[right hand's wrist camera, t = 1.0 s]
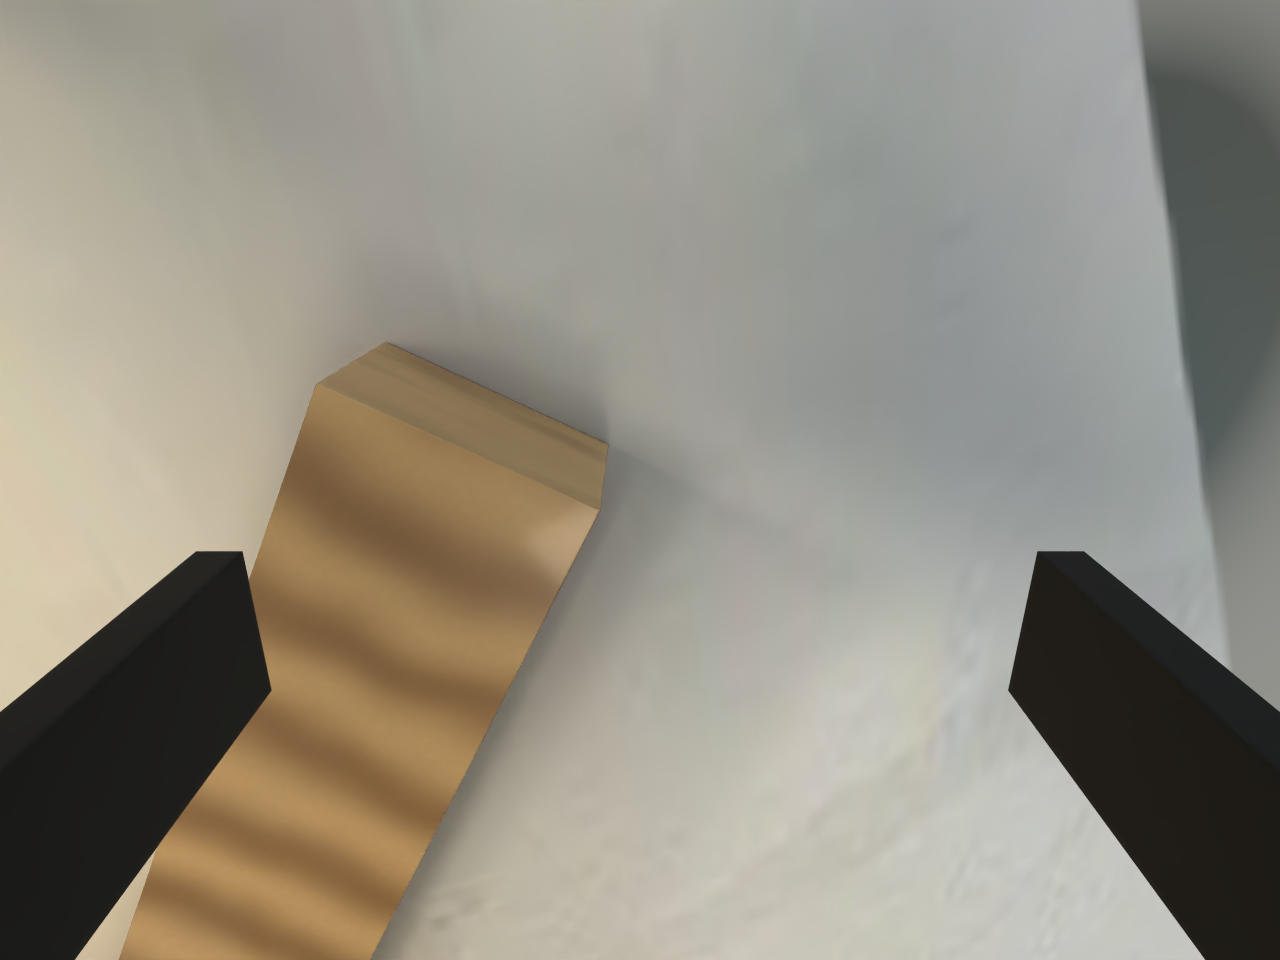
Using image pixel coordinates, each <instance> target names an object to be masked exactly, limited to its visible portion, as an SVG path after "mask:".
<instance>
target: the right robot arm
mask: <svg viewBox="0 0 1280 960" xmlns="http://www.w3.org/2000/svg"><path fill="white" fill-rule="evenodd" d="M271 691H272V689H271V684H270V679H269V675H268V670H267V665H266V660H265V656H264V651H263V646H262V642H261V637H260V632H259V627H258V623H257V618H256V613H255V608H254V604H253V599H252V594H251V589H250V585H249V580H248V575H247V570H246V566H245V561H244V556H243V551H196V552H195V553H194V554H192V555H191V556H190V557H189V558H188V559H186V560H185V561H184V562H183V563H181V564H180V565H179V566H178V567H177V568H175V569H174V570H173V571H172V572H170V573H169V574H168V575H167V576H166V577H164V578H163V579H162V580H161V581H159V582H158V583H157V584H156V585H155V586H153V587H152V588H151V589H150V590H148V591H147V592H146V593H145V594H144V595H142V596H141V597H140V598H139V599H138V600H136V601H135V602H134V603H133V604H131V605H130V606H129V607H128V608H127V609H125V610H124V611H123V612H122V613H120V614H119V615H118V616H117V617H116V618H114V619H113V620H112V621H111V622H109V623H108V624H107V625H106V626H105V627H103V628H102V629H101V630H100V631H98V632H97V633H96V634H95V635H94V636H92V637H91V638H90V639H89V640H88V641H86V642H85V643H84V644H83V645H81V646H80V647H79V648H78V649H77V650H75V651H74V652H73V653H72V654H70V655H69V656H68V657H67V658H66V659H64V660H63V661H62V662H61V663H59V664H58V665H57V666H56V667H55V668H53V669H52V670H51V671H50V672H49V673H47V674H46V675H45V676H44V677H42V678H41V679H40V680H39V681H38V682H36V683H35V684H34V685H33V686H31V687H30V688H29V689H28V690H27V691H25V692H24V693H23V694H22V695H20V696H19V697H18V698H17V699H16V700H14V701H13V702H12V703H11V704H9V705H8V706H7V707H6V708H5V709H3V710H2V711H1V712H0V960H75V959H76V957H77V956H78V955H79V953H80V952H81V950H82V949H83V948H84V946H85V945H86V944H87V942H88V941H89V940H90V938H91V937H92V935H93V934H94V933H95V931H96V930H97V929H98V927H99V926H100V925H101V923H102V922H103V920H104V919H105V918H106V916H107V915H108V914H109V912H110V911H111V909H112V908H113V907H114V905H115V904H116V903H117V901H118V900H119V899H120V897H121V896H122V894H123V893H124V892H125V890H126V889H127V888H128V886H129V885H130V884H131V882H132V881H133V879H134V878H135V877H136V875H137V874H138V873H139V871H140V870H141V868H142V867H143V866H144V864H145V863H146V862H147V860H148V859H149V858H150V856H151V855H152V853H153V852H154V851H155V849H156V848H157V847H158V845H159V844H160V843H161V841H162V840H163V838H164V837H165V836H166V834H167V833H168V832H169V830H170V829H171V827H172V826H173V825H174V823H175V822H176V821H177V819H178V818H179V817H180V815H181V814H182V812H183V811H184V810H185V808H186V807H187V806H188V804H189V803H190V802H191V800H192V799H193V797H194V796H195V795H196V793H197V792H198V791H199V789H200V788H201V787H202V785H203V784H204V782H205V781H206V780H207V778H208V777H209V776H210V774H211V773H212V771H213V770H214V769H215V767H216V766H217V765H218V763H219V762H220V761H221V759H222V758H223V756H224V755H225V754H226V752H227V751H228V750H229V748H230V747H231V746H232V744H233V743H234V741H235V740H236V739H237V737H238V736H239V735H240V733H241V732H242V730H243V729H244V728H245V726H246V725H247V724H248V722H249V721H250V720H251V718H252V717H253V715H254V714H255V713H256V711H257V710H258V709H259V707H260V706H261V705H262V703H263V702H264V700H265V699H266V698H267V696H268V695H269V694H270V692H271ZM1008 691H1009V692H1010V694H1011V695H1012V696H1013V698H1014V699H1015V700H1016V702H1017V703H1018V705H1019V706H1020V707H1021V709H1022V710H1023V711H1024V713H1025V714H1026V715H1027V717H1028V718H1029V720H1030V721H1031V722H1032V724H1033V725H1034V726H1035V728H1036V729H1037V730H1038V732H1039V733H1040V735H1041V736H1042V737H1043V739H1044V740H1045V741H1046V743H1047V744H1048V746H1049V747H1050V748H1051V750H1052V751H1053V752H1054V754H1055V755H1056V756H1057V758H1058V759H1059V761H1060V762H1061V763H1062V765H1063V766H1064V767H1065V769H1066V770H1067V771H1068V773H1069V774H1070V776H1071V777H1072V778H1073V780H1074V781H1075V782H1076V784H1077V785H1078V787H1079V788H1080V789H1081V791H1082V792H1083V793H1084V795H1085V796H1086V797H1087V799H1088V800H1089V802H1090V803H1091V804H1092V806H1093V807H1094V808H1095V810H1096V811H1097V812H1098V814H1099V815H1100V817H1101V818H1102V819H1103V821H1104V822H1105V823H1106V825H1107V826H1108V827H1109V829H1110V830H1111V832H1112V833H1113V834H1114V836H1115V837H1116V838H1117V840H1118V841H1119V843H1120V844H1121V845H1122V847H1123V848H1124V849H1125V851H1126V852H1127V853H1128V855H1129V856H1130V858H1131V859H1132V860H1133V862H1134V863H1135V864H1136V866H1137V867H1138V868H1139V870H1140V871H1141V873H1142V874H1143V875H1144V877H1145V878H1146V879H1147V881H1148V882H1149V884H1150V885H1151V886H1152V888H1153V889H1154V890H1155V892H1156V893H1157V894H1158V896H1159V897H1160V899H1161V900H1162V901H1163V903H1164V904H1165V905H1166V907H1167V908H1168V909H1169V911H1170V912H1171V914H1172V915H1173V916H1174V918H1175V919H1176V920H1177V922H1178V923H1179V925H1180V926H1181V927H1182V929H1183V930H1184V931H1185V933H1186V934H1187V935H1188V937H1189V938H1190V940H1191V941H1192V942H1193V944H1194V945H1195V946H1196V948H1197V949H1198V950H1199V952H1200V953H1201V955H1202V956H1203V957H1204V959H1205V960H1280V712H1279V711H1278V710H1277V709H1275V708H1274V707H1273V706H1272V705H1270V704H1269V703H1268V702H1267V701H1266V700H1264V699H1263V698H1262V697H1261V696H1259V695H1258V694H1257V693H1256V692H1255V691H1253V690H1252V689H1251V688H1250V687H1249V686H1247V685H1246V684H1245V683H1244V682H1242V681H1241V680H1240V679H1239V678H1238V677H1236V676H1235V675H1234V674H1233V673H1231V672H1230V671H1229V670H1228V669H1227V668H1225V667H1224V666H1223V665H1222V664H1221V663H1219V662H1218V661H1217V660H1216V659H1214V658H1213V657H1212V656H1211V655H1210V654H1208V653H1207V652H1206V651H1205V650H1203V649H1202V648H1201V647H1200V646H1199V645H1197V644H1196V643H1195V642H1194V641H1192V640H1191V639H1190V638H1189V637H1188V636H1186V635H1185V634H1184V633H1183V632H1182V631H1180V630H1179V629H1178V628H1177V627H1175V626H1174V625H1173V624H1172V623H1171V622H1169V621H1168V620H1167V619H1166V618H1164V617H1163V616H1162V615H1161V614H1160V613H1158V612H1157V611H1156V610H1155V609H1153V608H1152V607H1151V606H1150V605H1149V604H1147V603H1146V602H1145V601H1144V600H1142V599H1141V598H1140V597H1139V596H1138V595H1136V594H1135V593H1134V592H1133V591H1132V590H1130V589H1129V588H1128V587H1127V586H1125V585H1124V584H1123V583H1122V582H1121V581H1119V580H1118V579H1117V578H1116V577H1114V576H1113V575H1112V574H1111V573H1110V572H1108V571H1107V570H1106V569H1105V568H1103V567H1102V566H1101V565H1100V564H1099V563H1097V562H1096V561H1095V560H1094V559H1092V558H1091V557H1090V556H1089V555H1088V554H1086V553H1085V552H1084V551H1037V556H1036V561H1035V566H1034V570H1033V575H1032V580H1031V585H1030V589H1029V594H1028V599H1027V604H1026V608H1025V613H1024V618H1023V623H1022V627H1021V632H1020V637H1019V642H1018V646H1017V651H1016V656H1015V660H1014V665H1013V670H1012V675H1011V679H1010V684H1009V689H1008Z"/></svg>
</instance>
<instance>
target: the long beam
mask: <svg viewBox="0 0 1280 960" xmlns="http://www.w3.org/2000/svg"><path fill="white" fill-rule="evenodd" d="M607 452H608V444H605V443H603V442H601V441H599V440H597V439H595V438H592V437H590V436H588V435H586V434H584V433H582V432H579V431H577V430H575V429H573V428H571V427H569V426H566V425H564V424H562V423H560V422H558V421H556V420H553V419H551V418H549V417H547V416H545V415H543V414H540V413H538V412H536V411H534V410H532V409H530V408H527V407H525V406H523V405H521V404H519V403H517V402H514V401H512V400H510V399H508V398H506V397H504V396H501V395H499V394H497V393H495V392H493V391H491V390H488V389H486V388H484V387H482V386H480V385H478V384H475V383H473V382H471V381H469V380H467V379H465V378H462V377H460V376H458V375H456V374H454V373H452V372H449V371H447V370H445V369H443V368H441V367H439V366H436V365H434V364H432V363H430V362H428V361H426V360H423V359H421V358H419V357H417V356H415V355H413V354H410V353H408V352H406V351H404V350H402V349H400V348H397V347H395V346H393V345H391V344H389V343H387V342H385V343H383V344H381V345H380V346H378V347H376V348H375V349H373V350H371V351H370V352H368V353H366V354H365V355H363V356H361V357H360V358H358V359H356V360H355V361H353V362H351V363H350V364H348V365H347V366H345V367H343V368H342V369H340V370H338V371H337V372H335V373H333V374H332V375H330V376H328V377H327V378H325V379H323V380H322V381H320V382H318V383H317V384H316V386H315V389H314V392H313V395H312V398H311V401H310V404H309V407H308V410H307V412H306V415H305V418H304V421H303V424H302V427H301V430H300V433H299V436H298V439H297V442H296V445H295V447H294V450H293V453H292V456H291V459H290V462H289V465H288V468H287V471H286V474H285V477H284V480H283V483H282V485H281V488H280V491H279V494H278V497H277V500H276V503H275V506H274V509H273V512H272V515H271V518H270V520H269V523H268V526H267V529H266V532H265V535H264V538H263V541H262V544H261V547H260V550H259V553H258V555H257V558H256V561H255V564H254V567H253V570H252V573H251V576H250V579H249V585H250V589H251V594H252V599H253V604H254V608H255V613H256V618H257V623H258V627H259V632H260V637H261V642H262V646H263V651H264V656H265V660H266V665H267V670H268V675H269V679H270V684H271V689H272V691H271V692H270V694H269V695H268V696H267V698H266V699H265V700H264V702H263V703H262V705H261V706H260V707H259V709H258V710H257V711H256V713H255V714H254V715H253V717H252V718H251V720H250V721H249V722H248V724H247V725H246V726H245V728H244V729H243V730H242V732H241V733H240V735H239V736H238V737H237V739H236V740H235V741H234V743H233V744H232V746H231V747H230V748H229V750H228V751H227V752H226V754H225V755H224V756H223V758H222V759H221V761H220V762H219V763H218V765H217V766H216V767H215V769H214V770H213V771H212V773H211V774H210V776H209V777H208V778H207V780H206V781H205V782H204V784H203V785H202V787H201V788H200V789H199V791H198V792H197V793H196V795H195V796H194V797H193V799H192V800H191V802H190V803H189V804H188V806H187V807H186V808H185V810H184V811H183V812H182V814H181V815H180V817H179V818H178V819H177V821H176V822H175V823H174V825H173V826H172V827H171V829H170V830H169V832H168V833H167V834H166V836H165V837H164V838H163V840H162V841H161V843H160V844H159V845H158V847H157V850H156V853H155V856H154V859H153V862H152V865H151V868H150V871H149V874H148V876H147V879H146V882H145V885H144V888H143V891H142V894H141V897H140V900H139V903H138V906H137V909H136V911H135V914H134V917H133V920H132V923H131V926H130V929H129V932H128V935H127V938H126V941H125V944H124V947H123V949H122V952H121V955H120V958H119V960H370V959H371V957H372V955H373V953H374V951H375V949H376V947H377V945H378V943H379V941H380V939H381V937H382V935H383V934H384V932H385V930H386V928H387V926H388V924H389V922H390V920H391V918H392V916H393V914H394V912H395V910H396V908H397V906H398V904H399V902H400V900H401V898H402V896H403V894H404V893H405V891H406V889H407V887H408V885H409V883H410V881H411V879H412V877H413V875H414V873H415V871H416V869H417V867H418V865H419V863H420V861H421V859H422V857H423V855H424V853H425V852H426V850H427V848H428V846H429V844H430V842H431V840H432V838H433V836H434V834H435V832H436V830H437V828H438V826H439V824H440V822H441V820H442V818H443V816H444V814H445V812H446V811H447V809H448V807H449V805H450V803H451V801H452V799H453V797H454V795H455V793H456V791H457V789H458V787H459V785H460V783H461V781H462V779H463V777H464V775H465V773H466V771H467V770H468V768H469V766H470V764H471V762H472V760H473V758H474V756H475V754H476V752H477V750H478V748H479V746H480V744H481V742H482V740H483V738H484V736H485V734H486V732H487V731H488V729H489V727H490V725H491V723H492V721H493V719H494V717H495V715H496V713H497V711H498V709H499V707H500V705H501V703H502V701H503V699H504V697H505V695H506V693H507V691H508V690H509V688H510V686H511V684H512V682H513V680H514V678H515V676H516V674H517V672H518V670H519V668H520V666H521V664H522V662H523V660H524V658H525V656H526V654H527V652H528V650H529V649H530V647H531V645H532V643H533V641H534V639H535V637H536V635H537V633H538V631H539V629H540V627H541V625H542V623H543V621H544V619H545V617H546V615H547V613H548V611H549V609H550V608H551V606H552V604H553V602H554V600H555V598H556V596H557V594H558V592H559V590H560V588H561V586H562V584H563V582H564V580H565V578H566V576H567V574H568V572H569V570H570V569H571V567H572V565H573V563H574V561H575V559H576V557H577V555H578V553H579V551H580V549H581V547H582V545H583V543H584V541H585V539H586V537H587V535H588V533H589V531H590V529H591V528H592V526H593V524H594V522H595V520H596V518H597V516H598V514H599V512H600V508H601V500H602V492H603V484H604V476H605V468H606V460H607Z"/></svg>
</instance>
